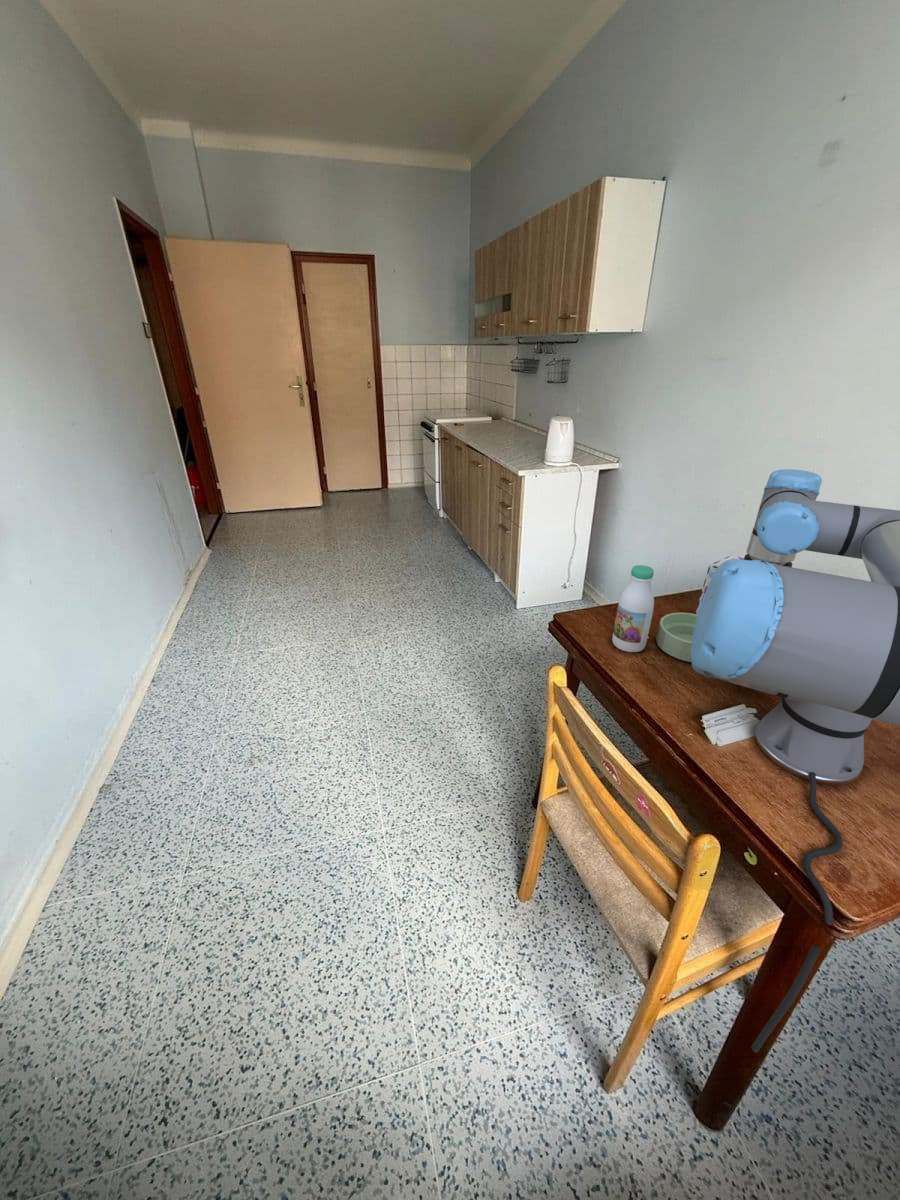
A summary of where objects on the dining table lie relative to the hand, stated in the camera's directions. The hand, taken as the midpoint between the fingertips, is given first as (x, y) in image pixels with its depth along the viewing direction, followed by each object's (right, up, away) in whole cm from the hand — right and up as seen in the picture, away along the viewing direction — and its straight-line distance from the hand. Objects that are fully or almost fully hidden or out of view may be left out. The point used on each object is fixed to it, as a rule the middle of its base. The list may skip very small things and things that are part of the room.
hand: (734, 661), depth 97 cm
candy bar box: (+10, +7, +26) cm, 29 cm away
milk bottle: (-15, +2, +17) cm, 23 cm away
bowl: (-2, +1, +15) cm, 15 cm away
